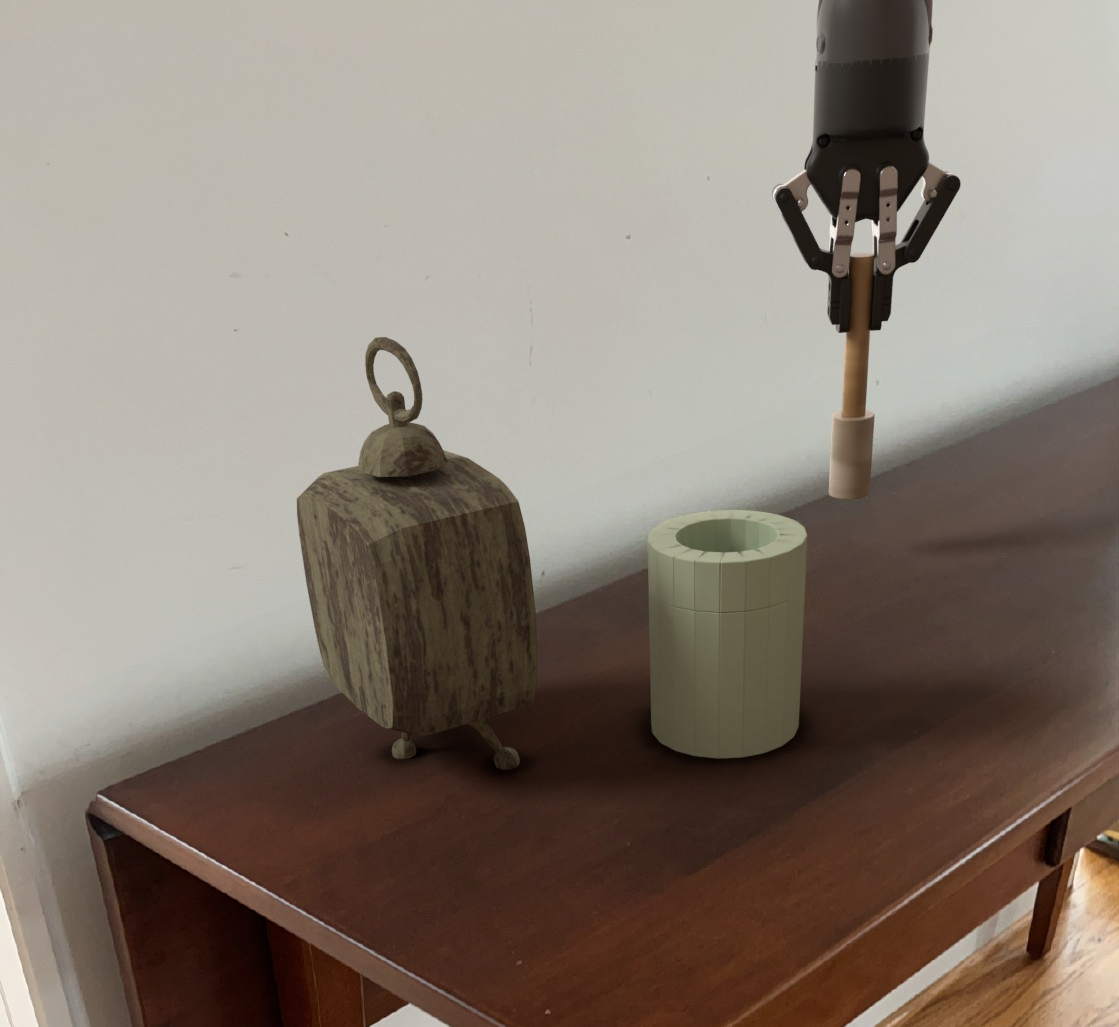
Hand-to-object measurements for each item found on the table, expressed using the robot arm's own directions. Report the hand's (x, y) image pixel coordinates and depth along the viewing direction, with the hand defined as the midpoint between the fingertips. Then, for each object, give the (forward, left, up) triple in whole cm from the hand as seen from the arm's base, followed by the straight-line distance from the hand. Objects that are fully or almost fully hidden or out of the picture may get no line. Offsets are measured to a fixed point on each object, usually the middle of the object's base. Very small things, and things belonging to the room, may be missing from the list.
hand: (857, 328), depth 106 cm
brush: (0, 0, -12) cm, 12 cm away
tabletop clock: (+31, +31, -18) cm, 47 cm away
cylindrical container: (+12, +30, -18) cm, 37 cm away
